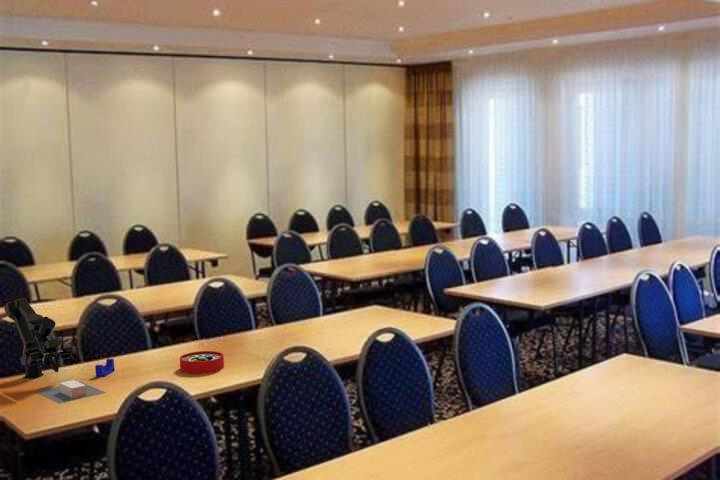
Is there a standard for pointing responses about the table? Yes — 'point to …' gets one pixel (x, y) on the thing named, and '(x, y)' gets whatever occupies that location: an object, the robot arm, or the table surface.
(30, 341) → the robot arm
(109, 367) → the cable clip
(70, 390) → the cream block
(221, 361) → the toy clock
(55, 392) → the rubber mat
